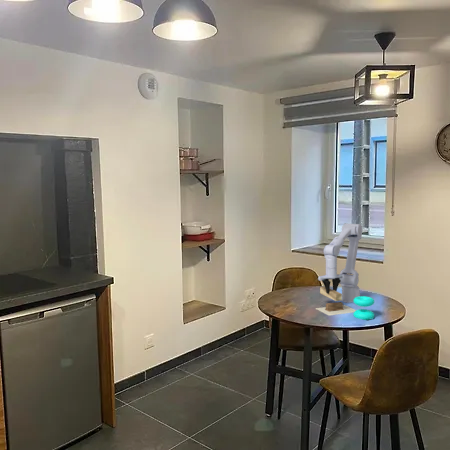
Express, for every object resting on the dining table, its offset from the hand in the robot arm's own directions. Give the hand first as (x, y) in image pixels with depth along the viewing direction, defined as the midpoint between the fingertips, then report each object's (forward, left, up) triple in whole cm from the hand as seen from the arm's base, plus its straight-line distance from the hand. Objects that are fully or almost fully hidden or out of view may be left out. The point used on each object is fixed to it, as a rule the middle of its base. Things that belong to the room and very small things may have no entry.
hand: (331, 292), depth 247 cm
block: (0, +3, -8) cm, 9 cm away
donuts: (-7, +19, -9) cm, 22 cm away
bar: (0, -1, -2) cm, 2 cm away
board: (-1, +4, -9) cm, 10 cm away
